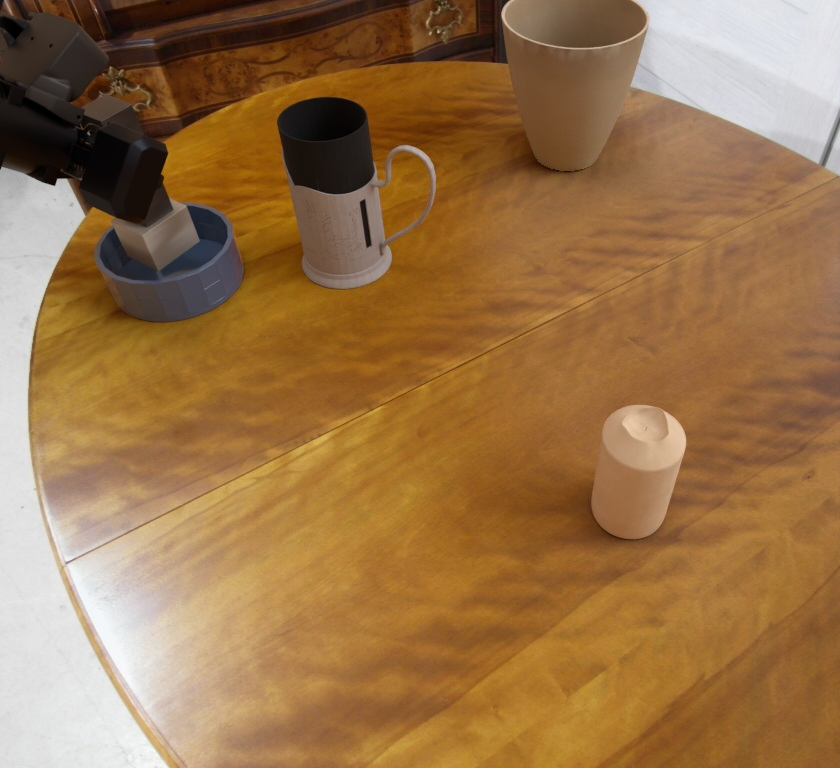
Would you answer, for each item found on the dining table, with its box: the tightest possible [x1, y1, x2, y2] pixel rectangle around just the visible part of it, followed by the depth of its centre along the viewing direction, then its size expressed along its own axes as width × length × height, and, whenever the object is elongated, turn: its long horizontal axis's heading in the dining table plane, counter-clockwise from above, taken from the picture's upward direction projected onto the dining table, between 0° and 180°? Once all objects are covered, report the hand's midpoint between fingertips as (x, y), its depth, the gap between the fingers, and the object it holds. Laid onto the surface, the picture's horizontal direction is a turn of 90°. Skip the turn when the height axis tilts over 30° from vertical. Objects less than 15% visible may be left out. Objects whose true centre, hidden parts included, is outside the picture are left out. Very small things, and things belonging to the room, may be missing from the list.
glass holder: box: [276, 96, 437, 290], centre depth 70 cm, size 9×14×15 cm, turn 73°
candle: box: [590, 404, 687, 540], centre depth 53 cm, size 6×6×10 cm
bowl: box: [93, 201, 245, 323], centre depth 72 cm, size 12×12×4 cm
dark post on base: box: [80, 93, 200, 271], centre depth 65 cm, size 5×4×14 cm
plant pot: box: [500, 0, 651, 172], centre depth 84 cm, size 15×15×16 cm
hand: (148, 176), depth 66 cm, fingers closed on dark post on base, 3 cm apart
